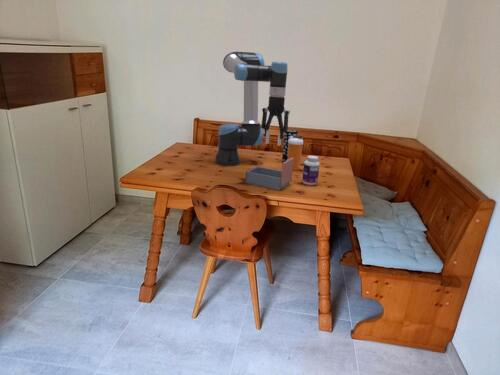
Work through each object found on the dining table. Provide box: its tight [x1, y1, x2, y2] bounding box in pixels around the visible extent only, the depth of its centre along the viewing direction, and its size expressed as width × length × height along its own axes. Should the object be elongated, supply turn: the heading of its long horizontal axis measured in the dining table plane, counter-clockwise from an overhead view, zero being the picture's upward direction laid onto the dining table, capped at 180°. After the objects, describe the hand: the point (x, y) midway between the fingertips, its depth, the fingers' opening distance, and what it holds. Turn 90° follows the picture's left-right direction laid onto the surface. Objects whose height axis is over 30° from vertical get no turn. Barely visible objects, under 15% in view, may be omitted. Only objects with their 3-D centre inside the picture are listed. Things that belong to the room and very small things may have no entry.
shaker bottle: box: [288, 135, 304, 171], centre depth 206 cm, size 9×9×20 cm
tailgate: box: [280, 158, 294, 189], centre depth 174 cm, size 1×14×12 cm, turn 153°
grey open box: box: [245, 165, 290, 191], centre depth 180 cm, size 19×13×6 cm
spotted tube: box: [281, 129, 299, 163], centre depth 220 cm, size 8×8×20 cm
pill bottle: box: [301, 155, 321, 186], centre depth 182 cm, size 8×8×14 cm
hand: (273, 144), depth 173 cm, fingers open, 6 cm apart
